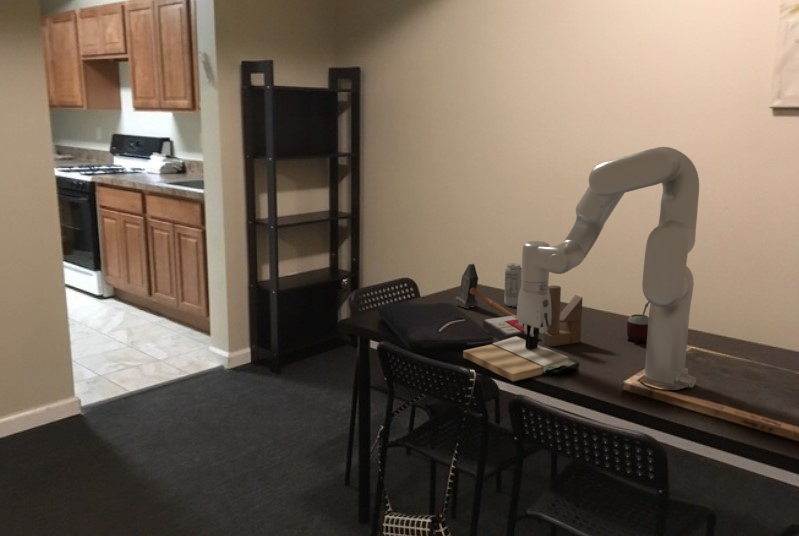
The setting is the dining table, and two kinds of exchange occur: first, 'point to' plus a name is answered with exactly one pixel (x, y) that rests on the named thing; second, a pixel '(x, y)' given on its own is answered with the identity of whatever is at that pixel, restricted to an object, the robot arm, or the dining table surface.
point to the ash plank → (531, 352)
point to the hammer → (474, 292)
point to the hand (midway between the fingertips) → (531, 347)
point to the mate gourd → (638, 327)
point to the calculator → (504, 327)
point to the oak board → (502, 362)
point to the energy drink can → (512, 284)
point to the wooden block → (563, 320)
